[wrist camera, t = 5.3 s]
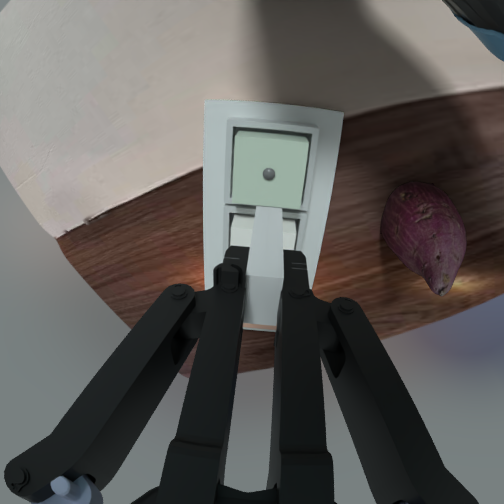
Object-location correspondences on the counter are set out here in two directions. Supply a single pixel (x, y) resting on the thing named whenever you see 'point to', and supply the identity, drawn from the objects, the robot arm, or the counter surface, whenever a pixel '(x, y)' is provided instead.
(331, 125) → the console
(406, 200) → the vegetable
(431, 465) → the robot arm
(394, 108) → the counter surface
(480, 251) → the counter surface
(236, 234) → the key two
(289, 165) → the key one
